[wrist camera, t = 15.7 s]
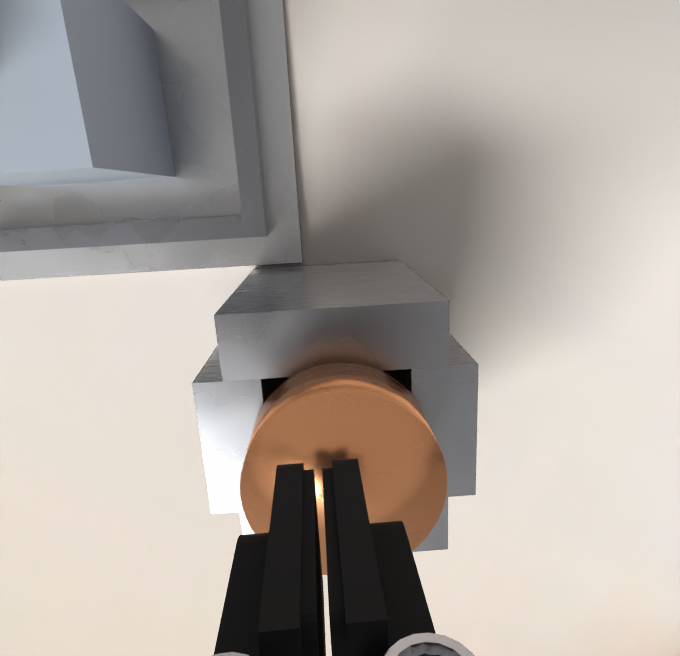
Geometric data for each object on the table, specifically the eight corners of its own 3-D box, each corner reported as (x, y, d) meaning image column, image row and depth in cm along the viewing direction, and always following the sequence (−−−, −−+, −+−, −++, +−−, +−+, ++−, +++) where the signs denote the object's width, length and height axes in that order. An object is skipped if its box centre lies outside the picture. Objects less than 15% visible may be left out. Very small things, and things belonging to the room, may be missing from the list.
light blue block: (42, 186, 18) (-180, 180, 10) (9, 38, 17) (-279, -107, 9) (175, 177, 18) (61, 163, 10) (152, 29, 17) (0, -123, 9)
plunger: (279, 423, 20) (251, 582, 12) (267, 310, 19) (228, 400, 11) (394, 415, 20) (447, 568, 12) (391, 302, 19) (448, 386, 11)
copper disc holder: (253, 438, 22) (218, 566, 14) (234, 270, 20) (182, 317, 12) (421, 426, 22) (474, 546, 15) (419, 258, 20) (479, 298, 12)
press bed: (-22, 281, 19) (-51, 288, 18) (-114, -73, 16) (-159, -102, 15) (302, 261, 20) (300, 267, 18) (275, -90, 17) (271, -119, 15)
